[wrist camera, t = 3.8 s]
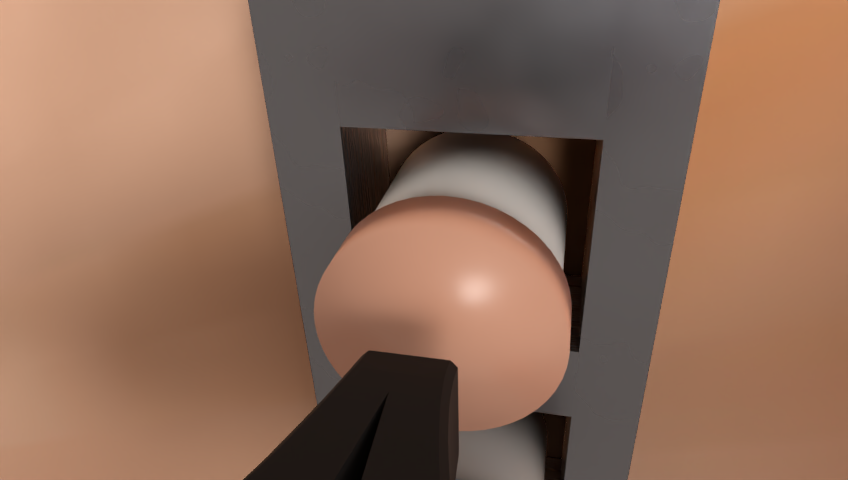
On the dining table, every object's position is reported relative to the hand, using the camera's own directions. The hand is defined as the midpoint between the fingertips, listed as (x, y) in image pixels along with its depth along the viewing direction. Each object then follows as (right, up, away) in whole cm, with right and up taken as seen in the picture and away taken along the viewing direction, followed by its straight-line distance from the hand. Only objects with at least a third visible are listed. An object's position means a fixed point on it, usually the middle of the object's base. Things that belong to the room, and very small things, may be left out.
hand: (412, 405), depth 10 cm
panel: (+2, -2, +10) cm, 10 cm away
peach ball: (+1, +3, +5) cm, 6 cm away
